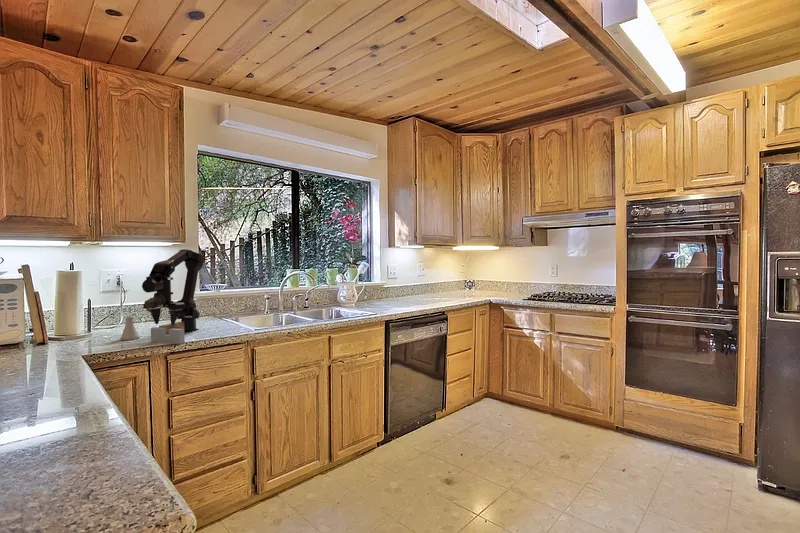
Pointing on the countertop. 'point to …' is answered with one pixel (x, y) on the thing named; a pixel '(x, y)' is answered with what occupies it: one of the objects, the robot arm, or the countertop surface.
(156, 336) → the slotted stand
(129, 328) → the flask
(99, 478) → the countertop surface
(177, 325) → the walnut board
